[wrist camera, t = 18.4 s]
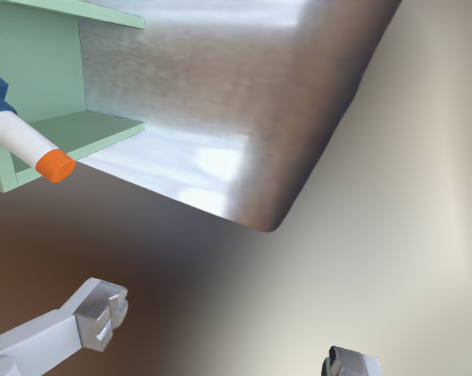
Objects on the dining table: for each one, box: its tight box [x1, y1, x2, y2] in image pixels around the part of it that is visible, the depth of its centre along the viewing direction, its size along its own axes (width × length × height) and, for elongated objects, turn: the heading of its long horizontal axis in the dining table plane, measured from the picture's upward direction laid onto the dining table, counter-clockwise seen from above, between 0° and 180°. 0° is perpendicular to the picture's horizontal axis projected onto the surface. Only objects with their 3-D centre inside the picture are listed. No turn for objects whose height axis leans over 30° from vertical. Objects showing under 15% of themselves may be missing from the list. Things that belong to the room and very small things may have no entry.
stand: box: [0, 0, 144, 193], centre depth 35 cm, size 13×18×27 cm
